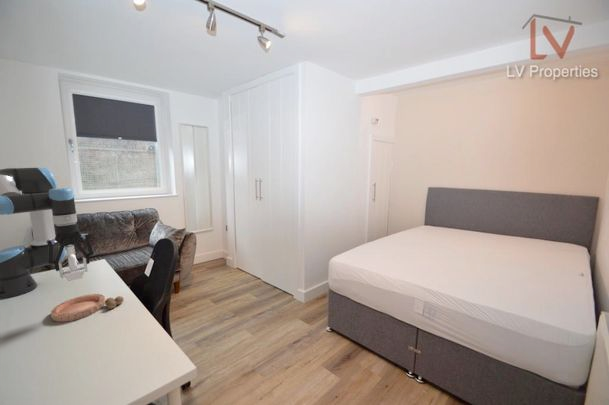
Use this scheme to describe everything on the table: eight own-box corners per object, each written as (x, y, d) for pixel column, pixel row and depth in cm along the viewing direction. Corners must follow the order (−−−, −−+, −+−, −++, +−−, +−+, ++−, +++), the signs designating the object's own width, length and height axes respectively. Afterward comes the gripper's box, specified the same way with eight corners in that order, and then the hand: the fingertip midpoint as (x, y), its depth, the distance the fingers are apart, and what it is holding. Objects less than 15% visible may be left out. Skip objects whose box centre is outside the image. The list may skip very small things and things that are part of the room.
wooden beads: (104, 305, 120) (103, 298, 119) (121, 299, 125) (120, 292, 124) (108, 311, 115) (107, 303, 114) (126, 304, 120) (125, 297, 119)
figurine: (64, 284, 108) (58, 250, 106) (63, 277, 115) (58, 245, 113) (86, 278, 113) (81, 246, 111) (84, 272, 120) (79, 241, 118)
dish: (49, 311, 116) (48, 305, 115) (100, 295, 129) (100, 290, 129) (54, 328, 103) (52, 321, 103) (110, 308, 117) (109, 302, 117)
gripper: (32, 230, 101) (42, 284, 104) (97, 220, 116) (104, 269, 119) (31, 227, 105) (41, 279, 109) (94, 218, 121) (100, 265, 124)
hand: (74, 274), depth 114 cm, fingers closed on figurine, 7 cm apart
